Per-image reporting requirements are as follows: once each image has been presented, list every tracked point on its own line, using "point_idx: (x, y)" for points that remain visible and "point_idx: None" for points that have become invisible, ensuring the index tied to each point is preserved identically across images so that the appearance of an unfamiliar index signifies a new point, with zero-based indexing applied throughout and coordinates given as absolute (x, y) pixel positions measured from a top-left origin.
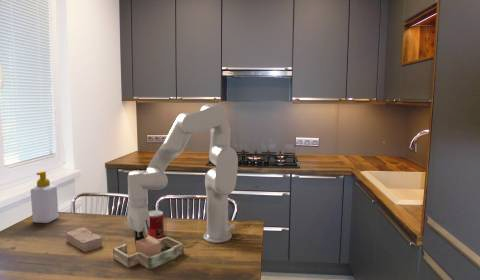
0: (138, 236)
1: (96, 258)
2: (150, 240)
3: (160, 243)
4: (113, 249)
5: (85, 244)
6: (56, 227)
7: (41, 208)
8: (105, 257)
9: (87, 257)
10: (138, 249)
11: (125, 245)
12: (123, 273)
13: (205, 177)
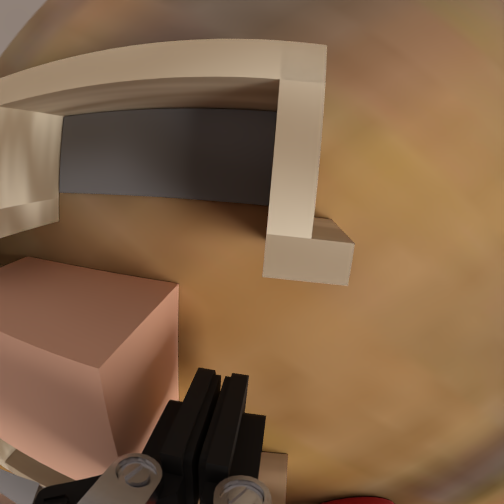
0: (128, 466)
1: (438, 16)
2: (31, 437)
3: None
4: (308, 45)
5: None
6: None
7: None
8: (400, 63)
9: (497, 9)
10: (95, 305)
11: (268, 251)
12: (30, 39)
13: None
